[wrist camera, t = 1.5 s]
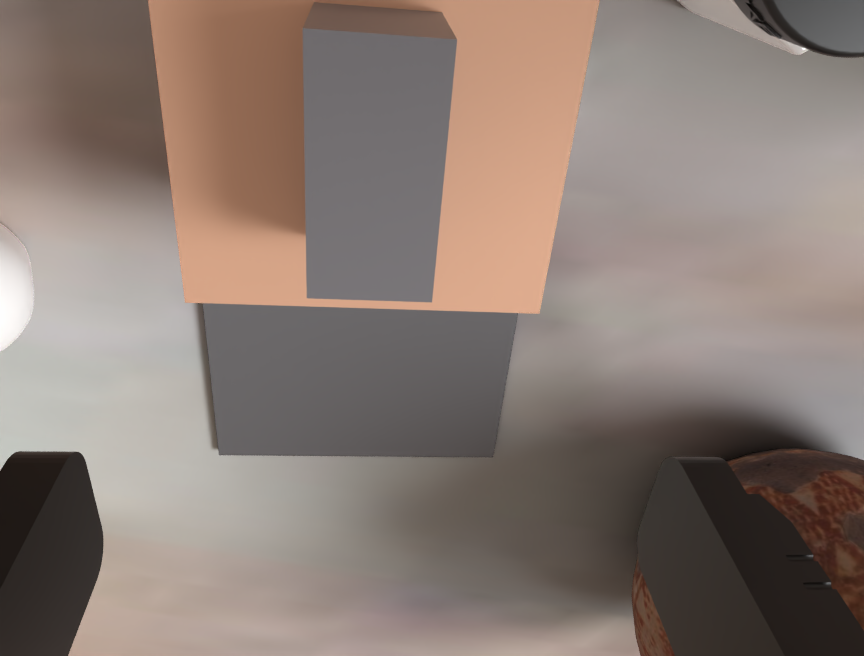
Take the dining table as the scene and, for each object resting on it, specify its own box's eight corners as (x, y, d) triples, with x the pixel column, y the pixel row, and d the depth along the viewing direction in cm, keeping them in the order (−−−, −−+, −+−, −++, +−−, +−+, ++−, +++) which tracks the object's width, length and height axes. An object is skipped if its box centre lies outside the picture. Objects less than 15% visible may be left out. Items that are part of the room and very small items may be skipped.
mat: (528, 239, 37) (529, 243, 36) (491, 451, 45) (493, 457, 44) (196, 225, 35) (194, 229, 35) (220, 449, 43) (219, 454, 43)
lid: (594, -87, 23) (670, -75, 17) (528, 284, 31) (565, 379, 25) (154, -128, 22) (75, -131, 16) (197, 273, 29) (155, 371, 23)
